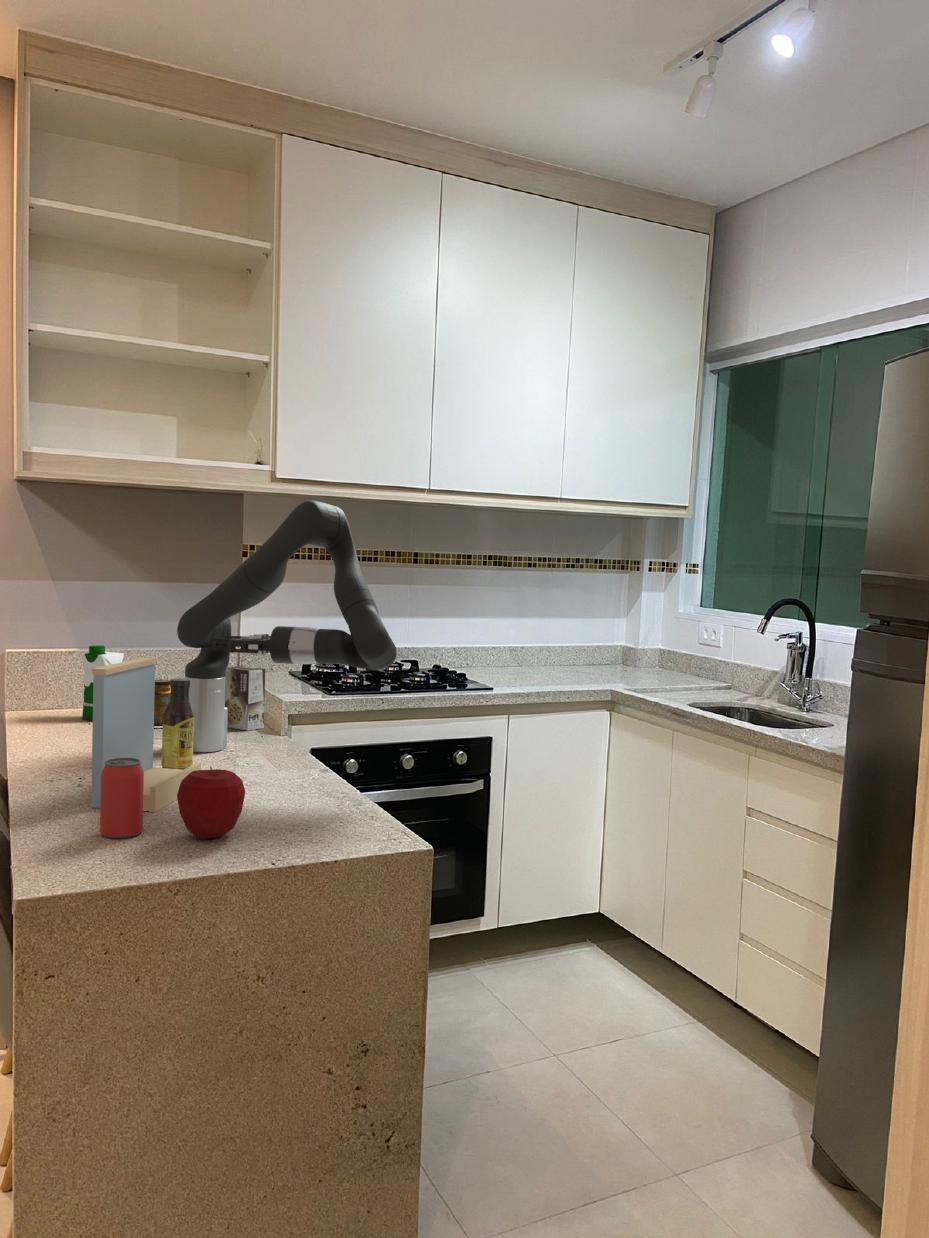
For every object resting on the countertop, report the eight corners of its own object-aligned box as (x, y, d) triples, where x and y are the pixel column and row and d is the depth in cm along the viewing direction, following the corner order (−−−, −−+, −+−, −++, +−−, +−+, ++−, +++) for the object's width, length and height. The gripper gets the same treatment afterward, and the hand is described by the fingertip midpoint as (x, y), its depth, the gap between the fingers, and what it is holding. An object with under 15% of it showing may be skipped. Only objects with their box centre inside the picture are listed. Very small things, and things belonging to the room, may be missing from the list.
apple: (207, 851, 144) (209, 777, 143) (161, 837, 149) (162, 766, 149) (258, 835, 153) (260, 765, 152) (212, 823, 159) (214, 756, 158)
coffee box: (265, 728, 247) (266, 668, 246) (247, 731, 241) (249, 670, 240) (240, 723, 251) (242, 665, 250) (222, 726, 246) (224, 666, 245)
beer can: (106, 827, 154) (108, 756, 153) (147, 828, 154) (148, 757, 153) (94, 839, 147) (95, 765, 146) (136, 840, 148) (138, 766, 147)
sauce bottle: (182, 778, 188) (185, 682, 187) (155, 775, 190) (157, 680, 188) (198, 771, 195) (200, 678, 194) (171, 769, 196) (173, 676, 195)
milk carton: (76, 719, 247) (77, 645, 246) (102, 715, 255) (104, 643, 254) (101, 723, 243) (102, 648, 242) (126, 718, 252) (128, 645, 250)
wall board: (141, 781, 185) (144, 657, 183) (200, 785, 183) (203, 660, 182) (89, 807, 165) (92, 668, 163) (155, 812, 164) (158, 672, 162)
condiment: (170, 722, 249) (171, 678, 248) (175, 728, 241) (176, 682, 240) (142, 723, 246) (143, 679, 245) (146, 729, 238) (147, 683, 237)
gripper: (308, 624, 193) (235, 622, 196) (285, 629, 179) (206, 626, 182) (308, 660, 194) (235, 657, 196) (284, 667, 180) (206, 664, 182)
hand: (221, 642), depth 189 cm, fingers open, 8 cm apart
